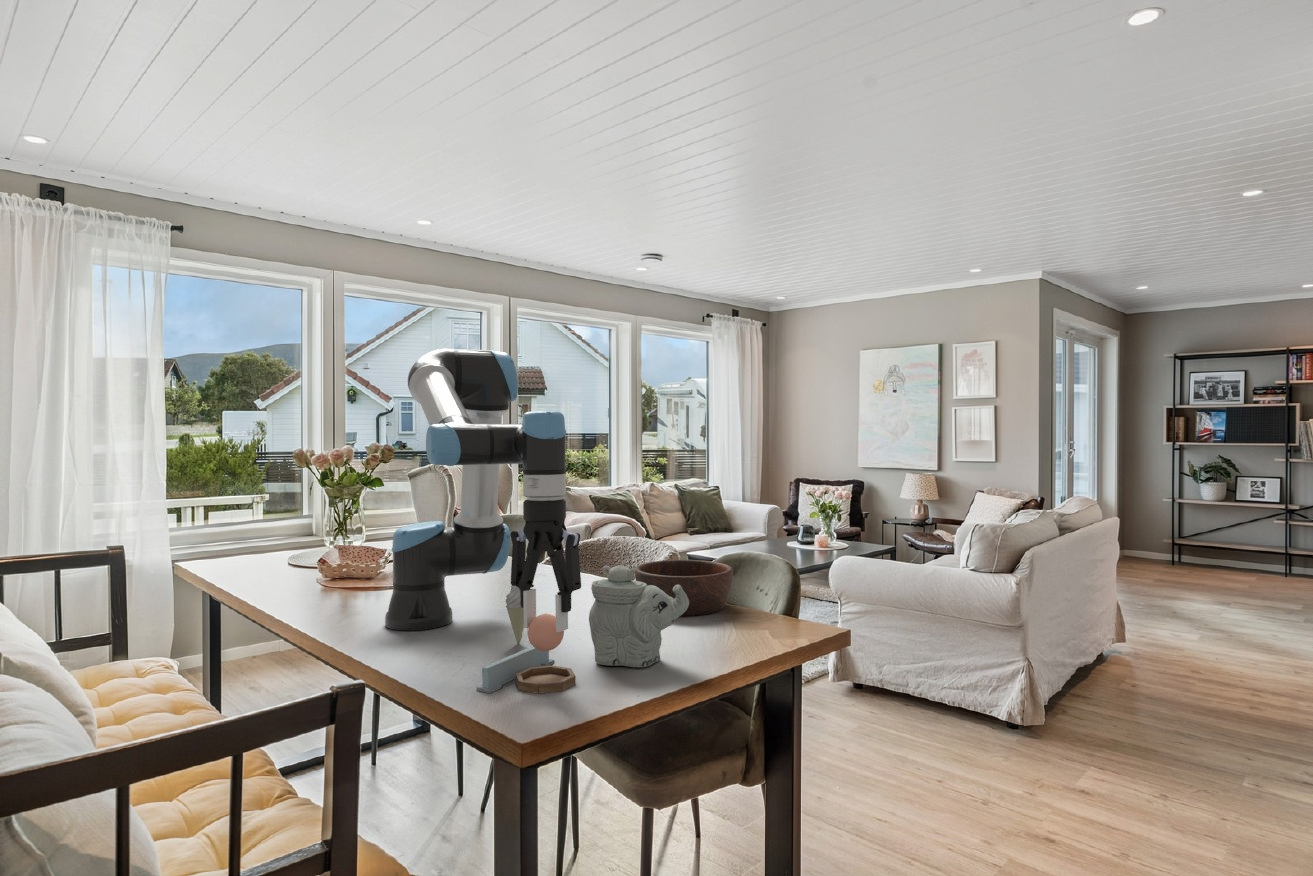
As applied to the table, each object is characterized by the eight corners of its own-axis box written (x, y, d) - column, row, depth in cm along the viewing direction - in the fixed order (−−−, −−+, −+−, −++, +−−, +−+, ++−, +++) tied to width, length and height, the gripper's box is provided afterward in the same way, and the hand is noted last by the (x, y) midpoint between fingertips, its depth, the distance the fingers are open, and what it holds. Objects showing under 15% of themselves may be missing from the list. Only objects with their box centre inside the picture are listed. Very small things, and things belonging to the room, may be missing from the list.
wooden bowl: (614, 611, 190) (614, 570, 190) (670, 593, 211) (670, 556, 211) (700, 625, 176) (699, 580, 176) (750, 604, 197) (750, 565, 197)
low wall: (476, 690, 132) (476, 667, 132) (541, 660, 148) (541, 640, 148) (490, 693, 130) (490, 669, 130) (554, 663, 147) (554, 642, 147)
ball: (519, 652, 134) (520, 615, 134) (541, 643, 139) (542, 608, 139) (549, 657, 131) (550, 620, 131) (570, 648, 136) (571, 613, 136)
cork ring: (505, 687, 133) (505, 678, 133) (539, 671, 142) (539, 663, 142) (552, 696, 129) (552, 687, 129) (584, 679, 137) (584, 670, 137)
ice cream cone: (507, 641, 163) (506, 571, 163) (531, 640, 163) (530, 570, 163) (504, 647, 158) (504, 575, 158) (529, 647, 158) (528, 575, 158)
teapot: (692, 666, 145) (691, 567, 145) (625, 681, 136) (625, 576, 136) (644, 646, 158) (643, 556, 158) (580, 659, 150) (580, 563, 150)
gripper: (488, 498, 136) (489, 627, 136) (578, 501, 127) (579, 639, 127) (514, 495, 143) (515, 618, 143) (601, 498, 134) (603, 629, 134)
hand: (545, 628), depth 135 cm, fingers closed on ball, 6 cm apart
